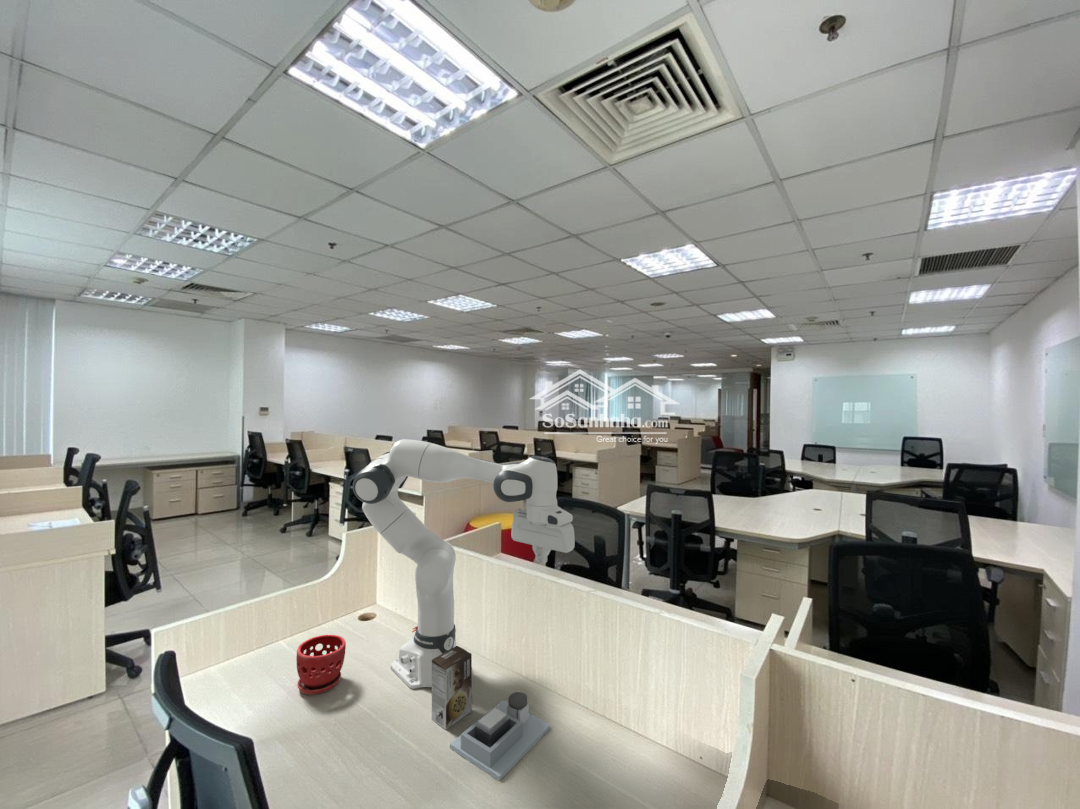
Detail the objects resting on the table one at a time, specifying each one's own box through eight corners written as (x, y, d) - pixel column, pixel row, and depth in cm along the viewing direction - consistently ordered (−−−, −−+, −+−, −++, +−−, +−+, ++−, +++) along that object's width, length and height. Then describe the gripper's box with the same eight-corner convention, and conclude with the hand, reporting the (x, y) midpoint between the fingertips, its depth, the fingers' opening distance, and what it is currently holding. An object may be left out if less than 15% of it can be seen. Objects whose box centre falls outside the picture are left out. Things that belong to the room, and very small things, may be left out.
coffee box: (457, 701, 124) (457, 644, 124) (472, 712, 120) (473, 652, 120) (430, 719, 117) (430, 658, 117) (445, 731, 113) (446, 668, 113)
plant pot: (309, 705, 122) (309, 662, 122) (288, 686, 130) (288, 646, 130) (353, 682, 133) (354, 642, 133) (331, 666, 141) (331, 628, 141)
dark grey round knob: (504, 717, 116) (504, 699, 116) (516, 706, 120) (516, 689, 120) (519, 725, 113) (519, 707, 113) (531, 714, 117) (531, 696, 117)
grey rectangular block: (475, 746, 107) (475, 721, 107) (494, 729, 113) (494, 705, 113) (490, 756, 104) (490, 730, 104) (509, 738, 110) (509, 713, 110)
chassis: (449, 747, 108) (450, 727, 108) (503, 703, 124) (503, 685, 124) (499, 781, 98) (499, 758, 98) (550, 728, 114) (550, 709, 114)
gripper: (506, 509, 130) (506, 556, 130) (565, 521, 118) (565, 572, 118) (520, 506, 135) (519, 551, 135) (577, 516, 123) (577, 566, 123)
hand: (541, 561), depth 126 cm, fingers closed
